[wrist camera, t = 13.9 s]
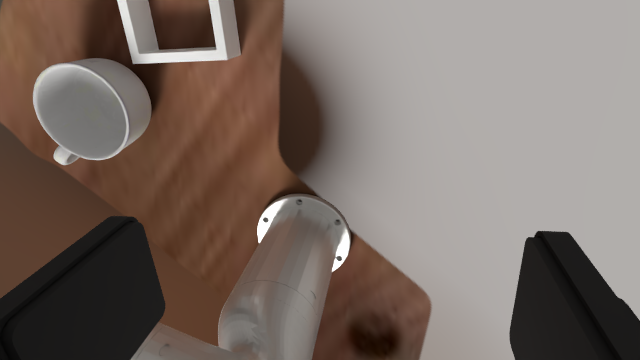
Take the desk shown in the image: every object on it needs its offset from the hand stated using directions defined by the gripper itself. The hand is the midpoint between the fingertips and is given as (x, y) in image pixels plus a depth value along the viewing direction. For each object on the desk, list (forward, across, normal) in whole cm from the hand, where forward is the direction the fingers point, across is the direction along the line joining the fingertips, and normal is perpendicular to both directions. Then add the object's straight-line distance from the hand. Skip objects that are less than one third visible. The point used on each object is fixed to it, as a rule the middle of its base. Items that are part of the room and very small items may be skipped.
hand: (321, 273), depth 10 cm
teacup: (+37, +33, +4) cm, 49 cm away
